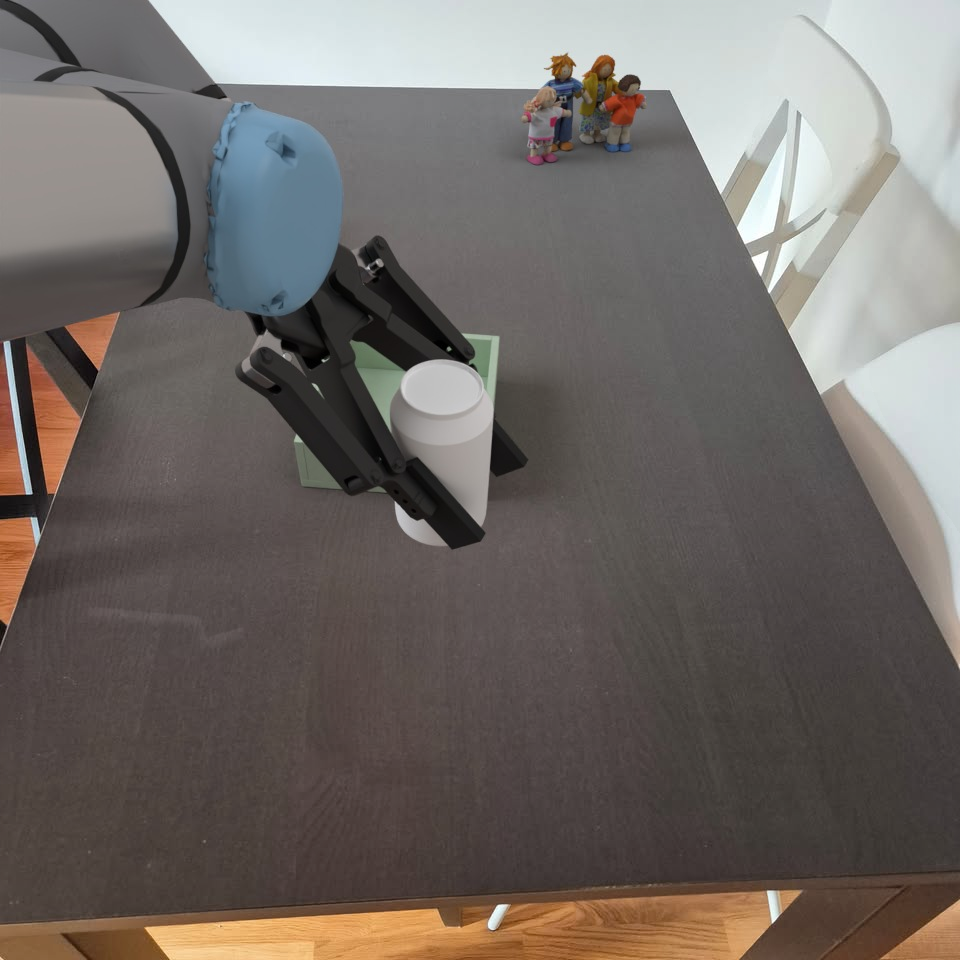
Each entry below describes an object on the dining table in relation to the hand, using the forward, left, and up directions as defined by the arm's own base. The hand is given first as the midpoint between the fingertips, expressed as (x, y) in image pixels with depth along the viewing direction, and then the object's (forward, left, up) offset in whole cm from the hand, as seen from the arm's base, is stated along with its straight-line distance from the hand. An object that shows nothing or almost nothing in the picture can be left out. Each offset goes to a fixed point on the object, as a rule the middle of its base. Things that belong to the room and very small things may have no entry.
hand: (491, 503), depth 54 cm
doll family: (+8, +91, -19) cm, 94 cm away
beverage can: (-3, +1, -4) cm, 5 cm away
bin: (-9, +25, -19) cm, 33 cm away
